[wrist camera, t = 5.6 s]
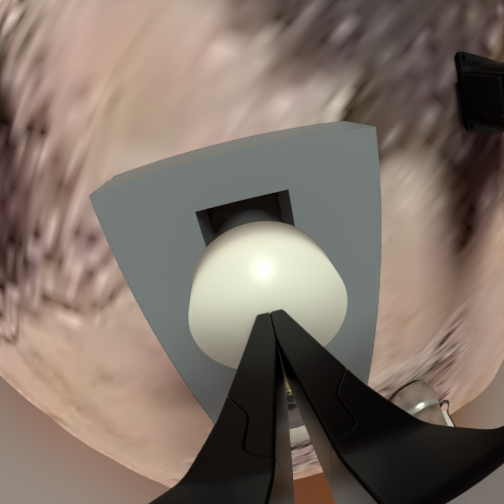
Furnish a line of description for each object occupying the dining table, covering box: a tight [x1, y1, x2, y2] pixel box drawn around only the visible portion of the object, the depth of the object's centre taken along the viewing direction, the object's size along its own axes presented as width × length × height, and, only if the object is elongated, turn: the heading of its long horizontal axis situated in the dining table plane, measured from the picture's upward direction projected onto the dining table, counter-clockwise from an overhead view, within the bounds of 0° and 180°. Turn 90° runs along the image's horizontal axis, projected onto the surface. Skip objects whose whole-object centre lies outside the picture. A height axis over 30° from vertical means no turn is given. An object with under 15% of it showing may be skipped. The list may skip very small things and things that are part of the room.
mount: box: [89, 121, 381, 424], centre depth 20 cm, size 14×26×4 cm, turn 12°
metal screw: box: [283, 370, 304, 429], centre depth 16 cm, size 3×3×5 cm
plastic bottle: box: [391, 381, 448, 426], centre depth 23 cm, size 6×7×20 cm
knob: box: [188, 209, 348, 369], centre depth 11 cm, size 5×5×6 cm
